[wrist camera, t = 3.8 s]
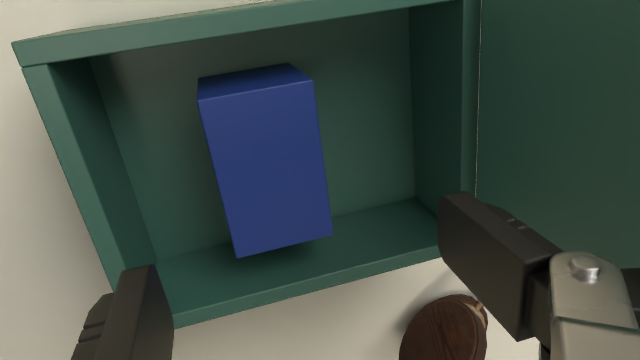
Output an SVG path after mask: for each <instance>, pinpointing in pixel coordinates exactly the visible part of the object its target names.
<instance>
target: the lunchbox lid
mask: <svg viewBox="0 0 640 360" xmlns="http://www.w3.org/2000/svg"><path fill="white" fill-rule="evenodd" d="M476 198H477V199H478V200H480V201H481V202H482V203H489V204H491V205H494V206H497V207H500V208H503V209H505V210H506V211H508V212H509V213H510V214H512V215H513V216H515V217H516V218H517V220H520V221H522V222H523V223H525V224H526V225H527V226H528V228H532V229H533V230H535V231H536V232H537V233H539V234H540V235H542V236H543V237H544V238H546V239H547V240H549V241H550V242H552V243H553V244H554V245H556V246H557V247H559V248H560V249H561V250H563V251H585V252H590V253H594V254H597V255H600V256H602V257H605V258H607V259H608V260H610V261H612V262H613V263H614V264H616V265H617V266H618V267H619V269H626V268H640V0H482V8H481V41H480V74H479V108H478V141H477V174H476Z"/></svg>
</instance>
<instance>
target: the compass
mask: <svg viewBox="0 0 640 360" xmlns="http://www.w3.org/2000/svg"><path fill="white" fill-rule="evenodd" d="M477 300H478V299H477ZM483 306H484V305H483V304H482V303H481V302H480V301H479V300H478V301H476V300H475V299H473V298H472V297H470V296H466V295H449V296H446V297H443V298H440V299H438V300H436V301H434V302H432V303H430V304H429V305H428V306H426V307H425V308H424V309H423V310H421V311H420V312H419V313H418V314H417V315H416V316H415V318H414V319H413V320H412V321H411V323H410V324H409V326H408V328H407V330H406V332H405V334H404V336H403V339H402V342H401V346H400V351H399V360H484V359H485V354H486V348H487V340H486V330H487V325H488V319H487V313H486V312H485V310H484V308H483Z"/></svg>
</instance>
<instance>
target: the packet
mask: <svg viewBox="0 0 640 360" xmlns="http://www.w3.org/2000/svg"><path fill="white" fill-rule="evenodd" d="M197 105H198V109H199V113H200V117H201V121H202V125H203V129H204V133H205V137H206V141H207V145H208V149H209V153H210V157H211V161H212V165H213V169H214V173H215V177H216V180H217V184H218V188H219V192H220V196H221V200H222V204H223V208H224V212H225V216H226V220H227V224H228V228H229V232H230V236H231V240H232V244H233V248H234V252H235V256H236V258H242V257H246V256H250V255H254V254H258V253H262V252H266V251H270V250H274V249H278V248H282V247H286V246H290V245H294V244H298V243H302V242H306V241H310V240H314V239H318V238H322V237H326V236H330V235H333V227H332V219H331V212H330V204H329V196H328V189H327V181H326V174H325V166H324V159H323V151H322V144H321V136H320V129H319V121H318V113H317V106H316V98H315V91H314V83H313V80H312V79H311V78H310V77H308V76H307V75H305V74H304V73H302V72H301V71H300V70H298V69H297V68H295V67H294V66H293V65H291V64H290V63H284V64H278V65H272V66H266V67H260V68H254V69H249V70H243V71H237V72H231V73H225V74H219V75H213V76H208V77H202V78H198V88H197Z"/></svg>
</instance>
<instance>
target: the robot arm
mask: <svg viewBox="0 0 640 360" xmlns="http://www.w3.org/2000/svg"><path fill="white" fill-rule="evenodd" d="M437 233H438V248H439V252H440V254H441V257H442V259H443V260H444V262H445V263H446V264H447V265H448V267H449V268H450V269H451V270H452V271H453V272H454V273H455V274H456V275H457V276H458V278H459V279H460V280H461V281H462V282H463V283H464V284H465V285H466V286H467V287H468V289H469V290H470V291H471V292H472V293H473V294H474V295H475V296H476V297H477V299H478V300H479V301H480V302H481V303H482V304H483V305H484V306H485V307H486V308H487V310H488V311H489V312H490V313H491V314H492V315H493V316H494V317H495V318H496V319H497V321H498V322H499V323H500V324H501V325H502V326H503V327H504V328H505V329H506V331H507V332H508V333H509V334H510V335H511V336H512V337H513V338H514V339H515V340H516V342H519V341H522V340H525V339H529V338H532V337H536V338H537V339H538V340H539V341H540V345H539V360H640V268H626V269H619V267H618V266H617V265H616V264H614V263H613V262H612V261H610V260H608V259H607V258H605V257H602V256H600V255H597V254H594V253H590V252H585V251H563V250H561V249H560V248H559V247H557V246H556V245H554V244H553V243H552V242H550V241H549V240H547V239H546V238H544V237H543V236H542V235H540V234H539V233H537V232H536V231H535V230H533V229H532V228H528V226H527V225H526V224H525V223H523V222H522V221H520V220H517V218H516V217H515V216H513V215H512V214H510V213H509V212H508V211H506V210H505V209H503V208H500V207H497V206H494V205H491V204H489V203H482V202H481V201H480V200H478V199H477V198H476V197H474V196H473V195H471V194H470V193H469V192H467V191H461V192H456V193H452V194H448V195H444V196H440V197H439V199H438V202H437ZM83 328H84V330H82V332H81V334H80V337H79V339H78V342H79V343H78V344H77V345H76V347H75V350H74V353H73V355H72V358H71V360H171V359H172V349H173V339H174V323H173V317H172V313H171V309H170V306H169V303H168V300H167V298H166V295H165V292H164V289H163V286H162V283H161V280H160V277H159V275H158V272H157V269H156V267H155V266H154V264H148V265H144V266H140V267H135V268H131V269H127V270H123V271H122V272H121V274H120V277H119V280H118V283H117V286H116V290H115V292H114V293H110V294H106V295H103V296H102V297H101V298H100V299H99V301H98V302H97V303H96V304H95V305H94V306H93V307H92V308H91V310H90V311H89V313H88V316H87V318H86V321H85V324H84V326H83Z"/></svg>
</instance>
